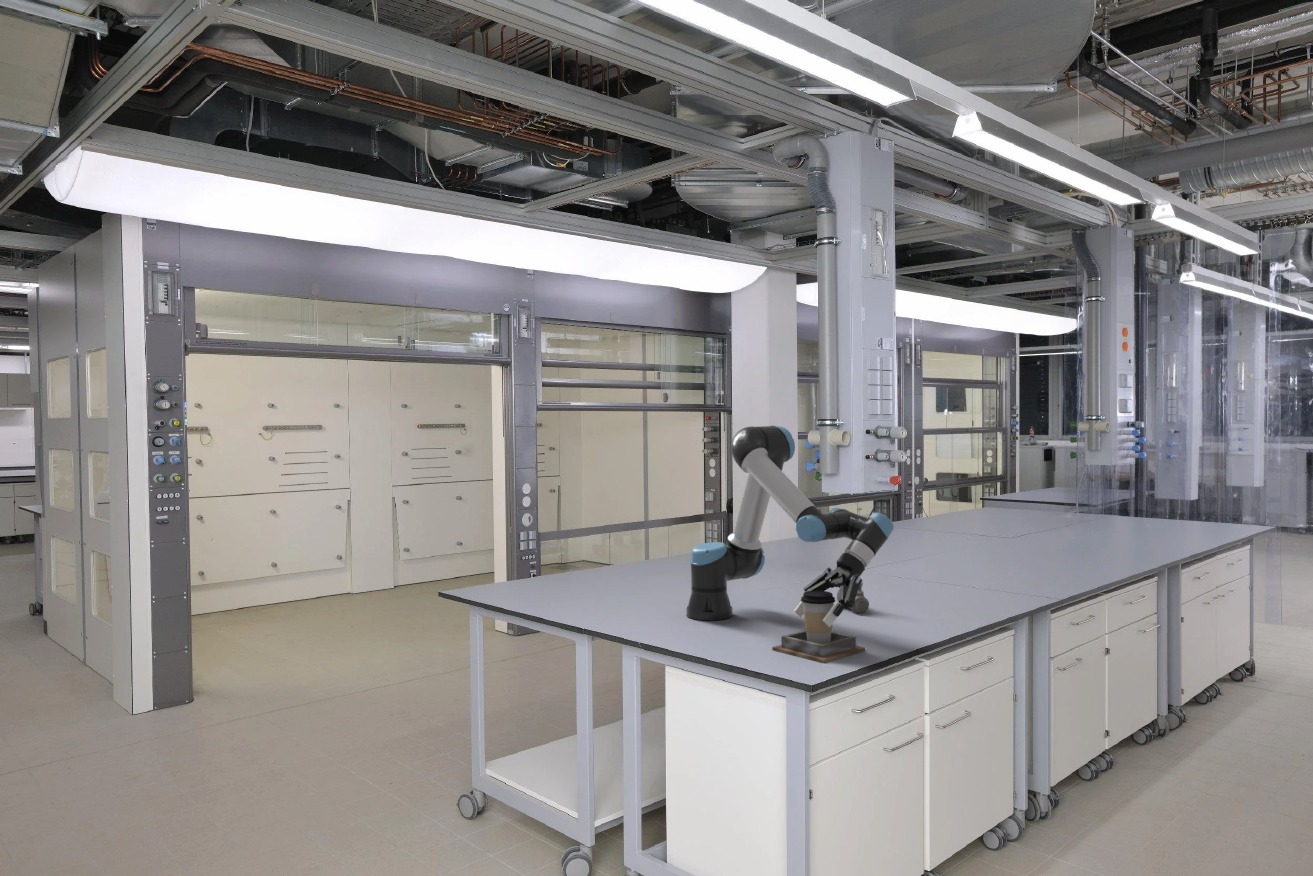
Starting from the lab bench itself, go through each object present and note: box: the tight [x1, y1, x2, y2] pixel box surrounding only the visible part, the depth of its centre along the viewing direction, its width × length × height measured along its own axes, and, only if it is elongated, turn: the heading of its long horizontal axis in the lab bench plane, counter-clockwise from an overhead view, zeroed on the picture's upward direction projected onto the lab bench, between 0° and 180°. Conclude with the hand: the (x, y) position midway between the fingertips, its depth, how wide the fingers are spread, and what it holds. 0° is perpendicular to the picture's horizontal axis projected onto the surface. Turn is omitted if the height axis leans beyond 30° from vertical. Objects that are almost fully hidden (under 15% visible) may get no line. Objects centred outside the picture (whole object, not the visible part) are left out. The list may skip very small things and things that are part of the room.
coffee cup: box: [800, 590, 836, 644], centre depth 243 cm, size 9×9×15 cm
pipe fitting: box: [836, 581, 870, 615], centre depth 293 cm, size 12×8×10 cm
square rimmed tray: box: [771, 629, 866, 664], centre depth 244 cm, size 18×18×4 cm
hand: (811, 619), depth 242 cm, fingers open, 13 cm apart
